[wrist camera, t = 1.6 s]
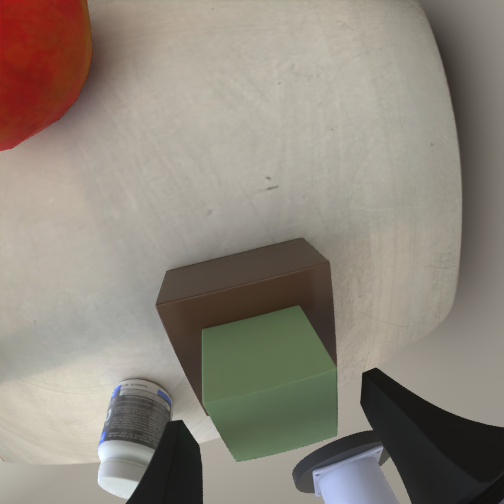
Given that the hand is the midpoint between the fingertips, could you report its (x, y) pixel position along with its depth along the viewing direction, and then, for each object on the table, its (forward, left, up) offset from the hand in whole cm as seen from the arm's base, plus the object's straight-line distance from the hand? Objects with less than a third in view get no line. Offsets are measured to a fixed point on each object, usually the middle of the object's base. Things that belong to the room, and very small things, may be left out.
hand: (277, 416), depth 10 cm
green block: (0, 0, -4) cm, 4 cm away
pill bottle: (-6, +9, -8) cm, 14 cm away
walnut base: (0, 0, -8) cm, 8 cm away
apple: (+17, +8, -8) cm, 20 cm away
